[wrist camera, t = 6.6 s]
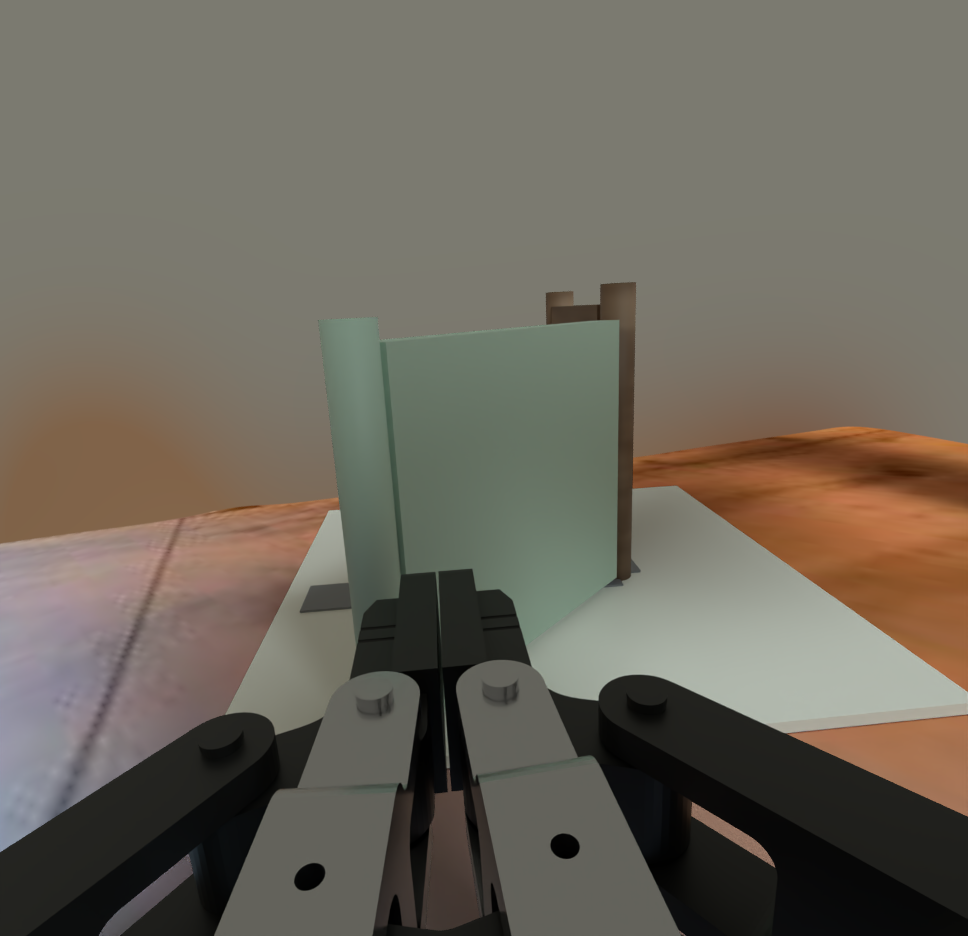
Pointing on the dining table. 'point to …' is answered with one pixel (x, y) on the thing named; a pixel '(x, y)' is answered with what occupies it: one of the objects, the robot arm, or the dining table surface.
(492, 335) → the fence gate
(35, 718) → the dining table surface
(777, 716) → the card
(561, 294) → the fence fixed
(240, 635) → the dining table surface
